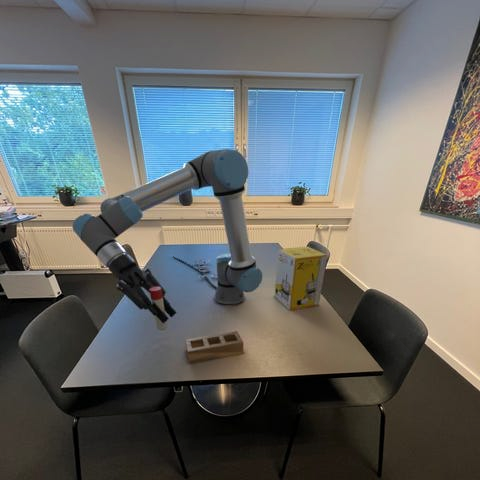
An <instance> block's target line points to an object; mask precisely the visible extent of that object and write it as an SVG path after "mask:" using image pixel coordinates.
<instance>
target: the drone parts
mask: <svg viewBox="0 0 480 480" xmlns="http://www.w3.org/2000/svg"><path fill="white" fill-rule="evenodd" d="M203 260H204V261H205V262H206V259H203ZM196 261H199V262H198V263H200V262H201V261H202V259H201V258H200V259H199V258H197V259H194V264H195V263H197V262H196ZM207 261H208V262H207V263H209V262H210V263H211V261H210V259H208V260H207ZM201 263H204V262H201ZM207 263H205V264H196V265H197V267H200V268H199V270H200V269H207V270H200V271H201V272H202V273H203V274H204V276H203V275H202V274H201V275H198V277H199V278H203V279H204V278H205V276H206V275H205V274H206V273H209V272H210V267H208V264H207ZM200 265H203V266H207V267H204V268H203V267H202V266H200ZM214 275H215V276H214ZM210 277H213V278H214V279H217V273H214V274H213V275H210Z"/></svg>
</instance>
